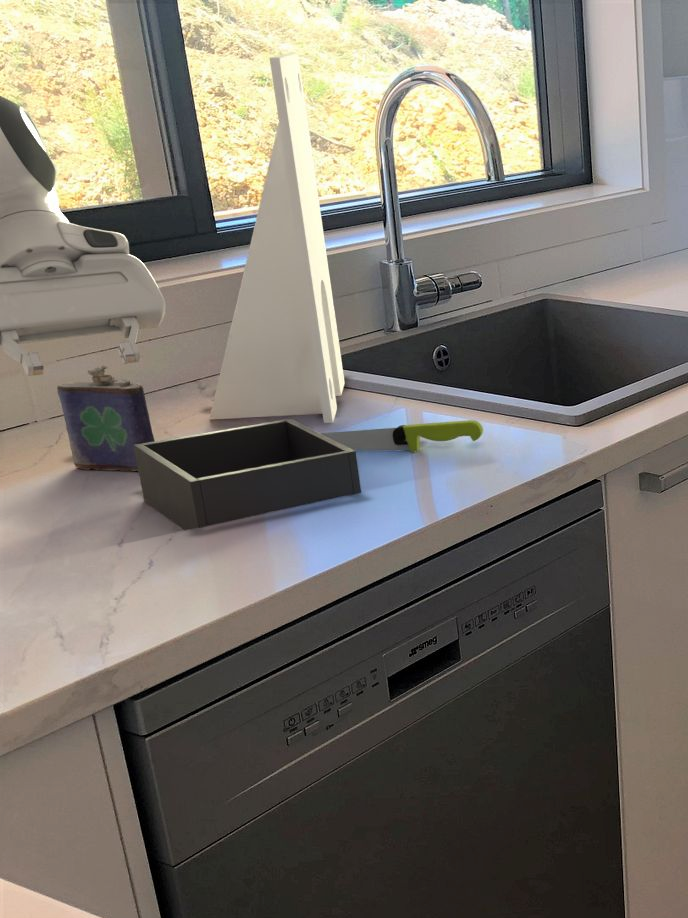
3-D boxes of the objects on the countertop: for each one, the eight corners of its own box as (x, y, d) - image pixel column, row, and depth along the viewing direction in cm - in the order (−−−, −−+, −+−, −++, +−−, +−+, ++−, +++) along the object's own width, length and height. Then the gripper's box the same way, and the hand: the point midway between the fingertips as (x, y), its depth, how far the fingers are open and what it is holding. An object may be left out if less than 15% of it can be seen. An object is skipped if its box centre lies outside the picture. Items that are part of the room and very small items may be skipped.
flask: (69, 469, 147) (47, 368, 143) (86, 461, 150) (65, 362, 145) (152, 473, 146) (132, 372, 142) (167, 465, 149) (148, 365, 144)
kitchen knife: (286, 462, 155) (279, 436, 153) (290, 459, 156) (284, 433, 155) (483, 448, 154) (478, 422, 153) (486, 445, 155) (481, 419, 154)
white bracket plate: (227, 389, 179) (168, 52, 163) (344, 383, 183) (298, 53, 166) (202, 429, 162) (133, 57, 145) (332, 422, 165) (279, 57, 149)
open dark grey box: (201, 542, 127) (190, 482, 125) (144, 501, 138) (132, 444, 135) (363, 507, 137) (356, 451, 135) (298, 471, 148) (290, 418, 145)
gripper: (-74, 249, 140) (-26, 362, 138) (139, 233, 153) (187, 336, 151) (-73, 287, 145) (-27, 397, 143) (134, 269, 158) (179, 369, 156)
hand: (85, 366), depth 147 cm, fingers open, 8 cm apart
